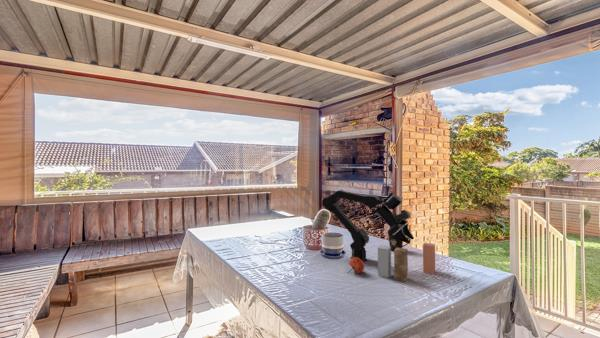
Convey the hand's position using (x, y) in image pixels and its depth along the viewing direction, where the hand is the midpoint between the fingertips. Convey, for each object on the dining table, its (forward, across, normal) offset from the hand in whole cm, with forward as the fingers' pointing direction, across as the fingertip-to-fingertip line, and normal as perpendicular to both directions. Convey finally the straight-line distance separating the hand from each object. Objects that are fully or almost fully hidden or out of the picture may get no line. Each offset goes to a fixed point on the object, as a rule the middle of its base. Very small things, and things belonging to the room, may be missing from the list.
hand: (411, 241), depth 132 cm
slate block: (+3, -15, +15) cm, 22 cm away
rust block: (+15, 0, +4) cm, 15 cm away
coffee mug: (+1, +26, +18) cm, 31 cm away
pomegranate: (-5, -18, +24) cm, 31 cm away
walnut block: (+8, -15, +10) cm, 20 cm away
